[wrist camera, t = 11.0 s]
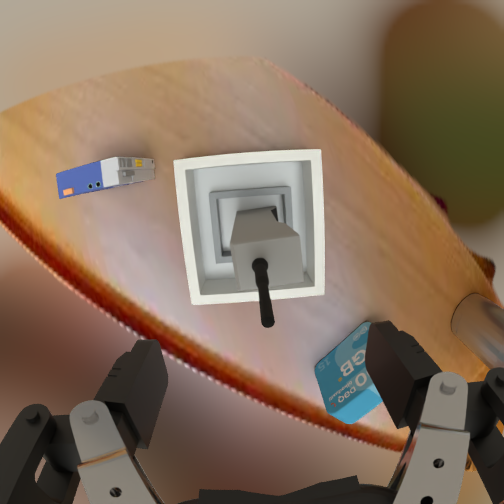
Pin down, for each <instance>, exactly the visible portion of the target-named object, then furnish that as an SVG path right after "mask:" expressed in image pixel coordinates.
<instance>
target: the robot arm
mask: <svg viewBox="0 0 504 504" xmlns="http://www.w3.org/2000/svg"><path fill="white" fill-rule="evenodd" d="M451 328H452V332H453V333H454V335H456V336H457V337H458V338H459V339H460V340H461V341H462V342H463V343H464V344H465V345H466V346H467V347H468V348H469V349H470V350H471V351H472V352H473V353H474V354H475V355H476V356H477V357H478V358H479V359H480V360H481V361H482V362H483V363H484V364H485V365H486V366H487V367H488V368H489V369H490V371H489V372H488V373H487V375H486V377H485V380H484V381H480V382H470V383H467V382H466V381H465V379H464V378H463V377H461V376H460V375H458V374H456V373H453V372H442V370H441V369H440V368H439V367H438V366H437V364H436V363H435V362H434V361H433V360H432V358H431V357H430V356H429V355H428V354H427V353H426V352H424V349H423V348H422V347H421V346H419V343H418V342H417V341H416V340H415V339H414V337H413V336H411V335H409V334H407V333H406V332H404V331H398V329H397V328H396V327H395V326H394V325H393V324H392V322H391V321H383V322H377V323H371V324H370V326H369V331H368V338H367V345H366V352H365V366H366V370H367V372H368V374H369V376H370V378H371V380H372V381H373V383H374V385H375V387H376V389H377V391H378V393H379V395H380V397H381V399H382V400H383V402H384V404H385V406H386V408H387V410H388V412H389V414H390V416H391V418H392V420H393V422H394V424H395V426H396V428H397V429H399V428H403V427H406V426H409V428H410V432H409V434H408V437H407V440H406V443H405V446H404V448H403V451H402V454H401V457H400V459H399V462H398V464H397V467H396V469H395V471H394V474H393V476H392V478H391V480H390V482H389V484H388V486H387V487H383V486H379V485H372V484H359V482H358V479H357V475H356V476H351V477H347V478H343V479H338V480H332V481H327V482H321V483H318V484H315V485H312V486H310V487H307V488H304V489H301V490H298V491H295V492H292V493H289V494H286V495H282V496H274V495H265V494H259V493H251V492H246V491H241V490H204V489H200V491H199V498H197V499H192V500H188V501H184V502H181V503H178V504H456V503H457V499H458V496H459V492H460V488H461V484H462V480H463V475H464V470H465V465H466V459H467V453H468V454H469V456H470V458H471V460H472V462H473V463H474V465H475V467H476V469H477V471H478V473H479V475H480V477H481V479H482V481H483V483H484V485H485V488H486V490H487V492H488V494H489V496H490V498H491V501H492V503H493V504H504V437H503V436H502V434H501V433H500V431H499V430H498V428H497V427H496V424H497V423H498V421H499V419H500V421H501V422H502V423H503V425H504V309H502V308H501V307H499V306H498V305H496V304H495V303H493V302H492V301H491V300H489V299H488V298H486V297H485V298H484V297H483V296H481V295H480V294H477V293H474V294H471V295H469V296H467V297H466V298H465V299H464V300H463V301H462V302H461V303H460V304H459V306H458V307H457V309H456V311H455V313H454V315H453V318H452V323H451ZM167 386H168V374H167V369H166V366H165V362H164V359H163V355H162V351H161V348H160V344H159V342H158V341H157V340H137V342H136V343H135V345H134V347H133V348H132V350H131V352H126V353H124V354H123V355H122V356H121V357H119V358H118V359H117V360H116V362H115V364H114V365H113V367H112V370H110V372H109V374H108V377H106V379H105V381H104V382H103V384H102V386H101V387H100V389H99V391H98V393H97V394H96V396H95V398H94V400H92V401H86V402H83V403H80V404H79V405H77V406H76V407H75V408H74V409H73V410H72V412H71V413H70V415H56V416H52V415H51V413H50V411H49V410H48V408H47V407H46V406H44V405H42V404H33V405H29V406H27V407H25V408H24V409H23V410H22V411H21V412H20V413H19V415H18V416H17V418H16V420H15V421H14V422H13V424H12V426H11V427H10V429H9V430H8V432H7V434H6V435H5V437H4V439H3V440H2V442H1V444H0V504H72V503H73V500H74V497H75V494H76V491H77V487H78V485H79V482H80V479H81V480H82V483H83V486H84V489H85V492H86V494H87V497H88V499H89V502H90V504H165V503H164V502H163V501H162V499H161V498H160V496H159V495H158V493H157V492H156V490H155V489H154V487H153V486H152V484H151V482H150V481H149V479H148V478H147V476H146V474H145V473H144V471H143V469H142V467H141V466H140V464H139V462H138V460H137V459H136V457H135V455H134V454H135V451H136V448H142V449H148V447H149V444H150V440H151V437H152V433H153V430H154V427H155V424H156V420H157V417H158V414H159V411H160V408H161V405H162V401H163V398H164V395H165V392H166V389H167ZM42 457H43V458H44V459H45V460H46V463H45V465H44V467H43V469H42V472H41V474H40V476H39V478H38V481H37V483H36V482H35V472H36V470H37V467H38V465H39V463H40V461H41V459H42Z"/></svg>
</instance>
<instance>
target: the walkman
mask: <svg viewBox="0 0 504 504" xmlns="http://www.w3.org/2000/svg"><path fill="white" fill-rule="evenodd" d="M154 169H155V164H154V159H149V158H136V157H113V158H109V159H105V160H101V161H97V162H94V163H90V164H87V165H83V166H80V167H76V168H73V169H70V170H66V171H63V172H60V173H57V174H56V177H57V185H58V192H59V199H62V198H66V197H71V196H75V195H80V194H84V193H89V192H94V191H99V190H104V189H110V188H113V187H118V186H124V185H129V184H133V183H138V182H143V181H147V180H152V179H155V175H154Z"/></svg>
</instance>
